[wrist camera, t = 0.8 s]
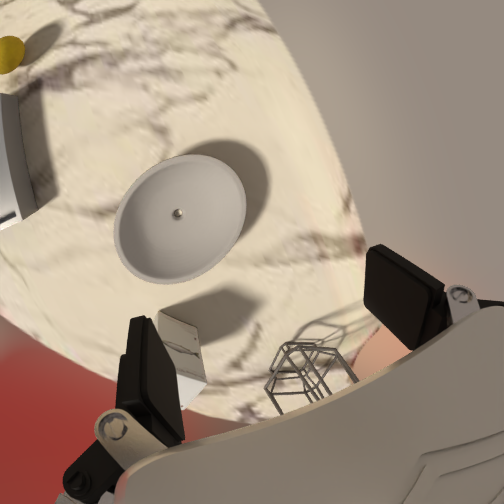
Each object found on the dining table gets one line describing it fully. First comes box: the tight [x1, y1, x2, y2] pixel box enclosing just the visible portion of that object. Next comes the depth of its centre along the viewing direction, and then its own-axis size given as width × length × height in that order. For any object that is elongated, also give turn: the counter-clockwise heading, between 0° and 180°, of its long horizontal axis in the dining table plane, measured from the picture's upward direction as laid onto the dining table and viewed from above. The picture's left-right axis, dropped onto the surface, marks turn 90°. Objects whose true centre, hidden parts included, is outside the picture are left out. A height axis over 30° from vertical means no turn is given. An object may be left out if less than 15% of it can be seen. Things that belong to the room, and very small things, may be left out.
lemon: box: [0, 36, 25, 74], centre depth 15 cm, size 6×6×8 cm
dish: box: [114, 154, 247, 284], centre depth 33 cm, size 18×14×5 cm
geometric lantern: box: [264, 343, 359, 415], centre depth 37 cm, size 16×16×35 cm
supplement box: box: [153, 311, 207, 410], centre depth 37 cm, size 7×7×13 cm
